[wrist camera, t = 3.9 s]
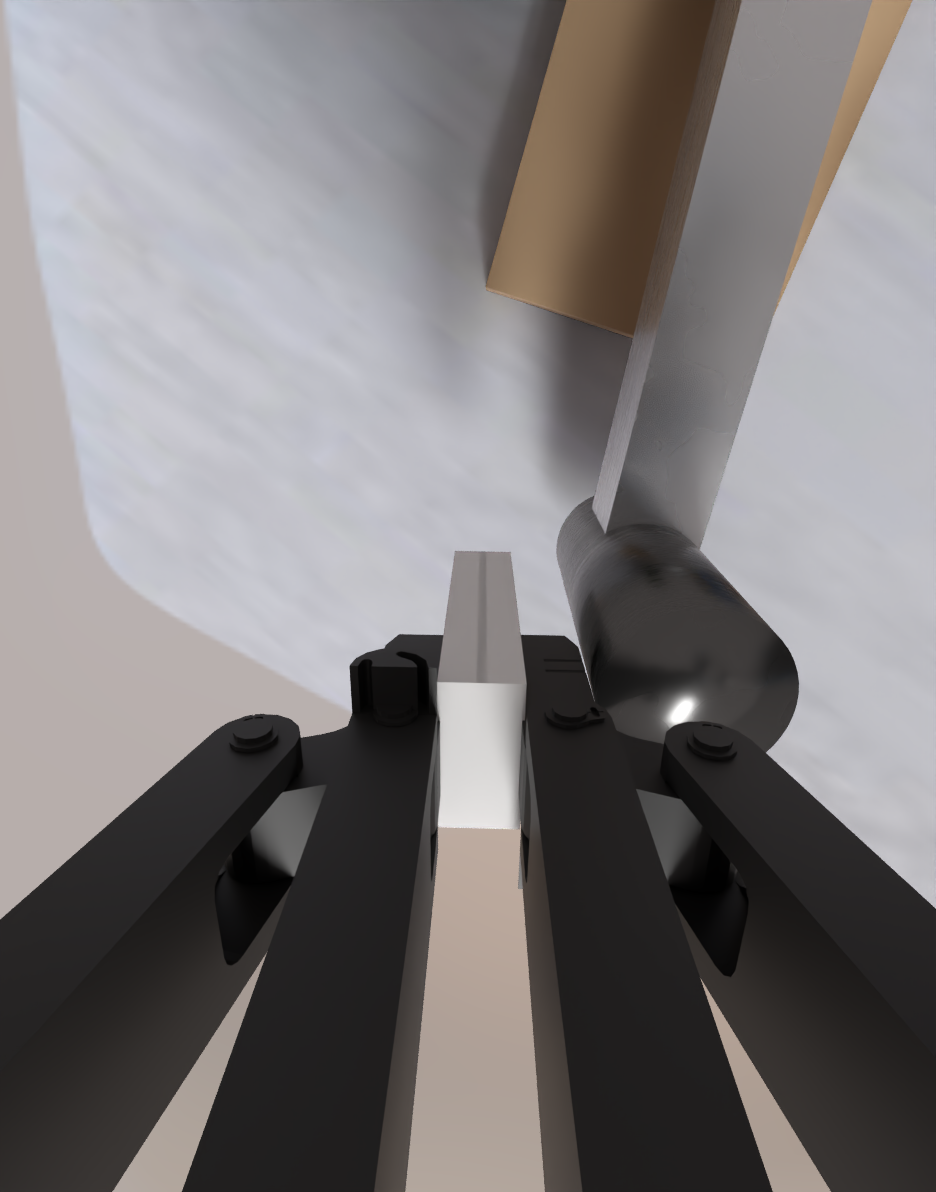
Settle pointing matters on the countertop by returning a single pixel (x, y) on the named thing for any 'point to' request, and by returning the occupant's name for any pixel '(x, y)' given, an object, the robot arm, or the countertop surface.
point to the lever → (705, 382)
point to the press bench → (630, 153)
